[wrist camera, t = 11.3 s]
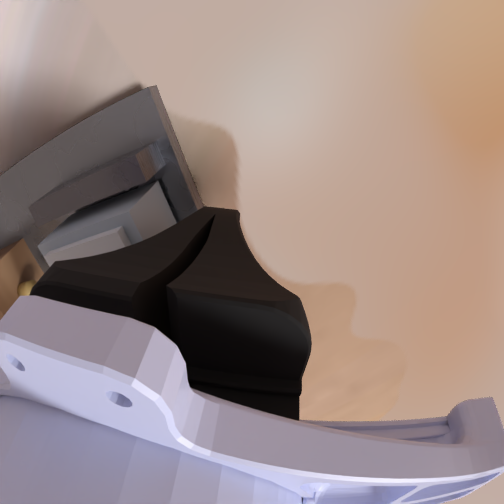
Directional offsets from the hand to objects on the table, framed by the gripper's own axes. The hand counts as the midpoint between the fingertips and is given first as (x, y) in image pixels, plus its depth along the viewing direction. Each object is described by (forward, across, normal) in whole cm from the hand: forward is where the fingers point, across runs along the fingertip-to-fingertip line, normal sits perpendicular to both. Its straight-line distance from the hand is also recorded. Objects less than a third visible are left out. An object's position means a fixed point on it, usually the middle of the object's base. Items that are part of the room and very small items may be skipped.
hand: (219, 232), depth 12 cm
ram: (+1, +4, +2) cm, 5 cm away
